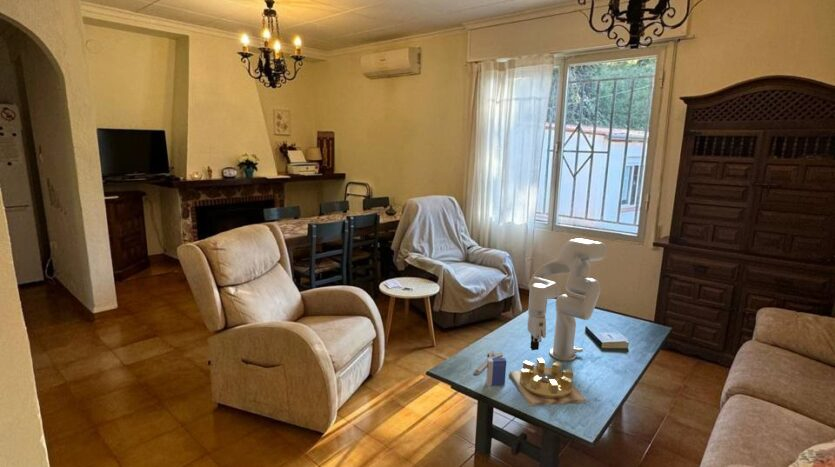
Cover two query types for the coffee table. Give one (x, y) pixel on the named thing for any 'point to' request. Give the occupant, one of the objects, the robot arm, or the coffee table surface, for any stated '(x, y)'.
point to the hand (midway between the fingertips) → (534, 348)
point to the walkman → (496, 371)
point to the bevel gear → (546, 380)
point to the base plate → (536, 400)
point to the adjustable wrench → (484, 364)
